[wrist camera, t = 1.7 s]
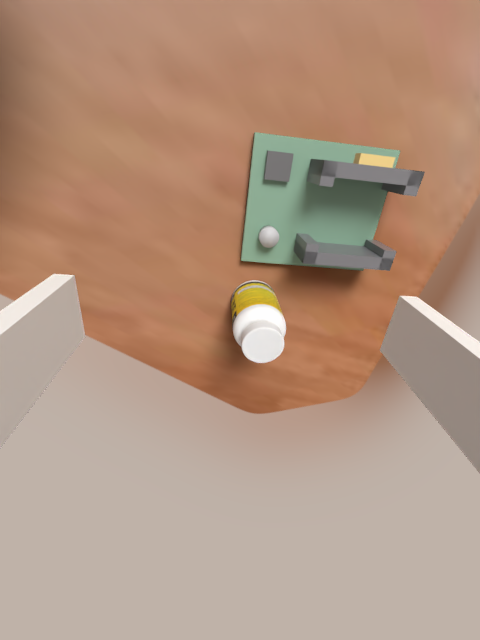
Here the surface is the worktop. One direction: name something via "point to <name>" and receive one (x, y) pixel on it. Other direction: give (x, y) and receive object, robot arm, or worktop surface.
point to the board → (306, 199)
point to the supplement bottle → (257, 321)
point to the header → (373, 250)
